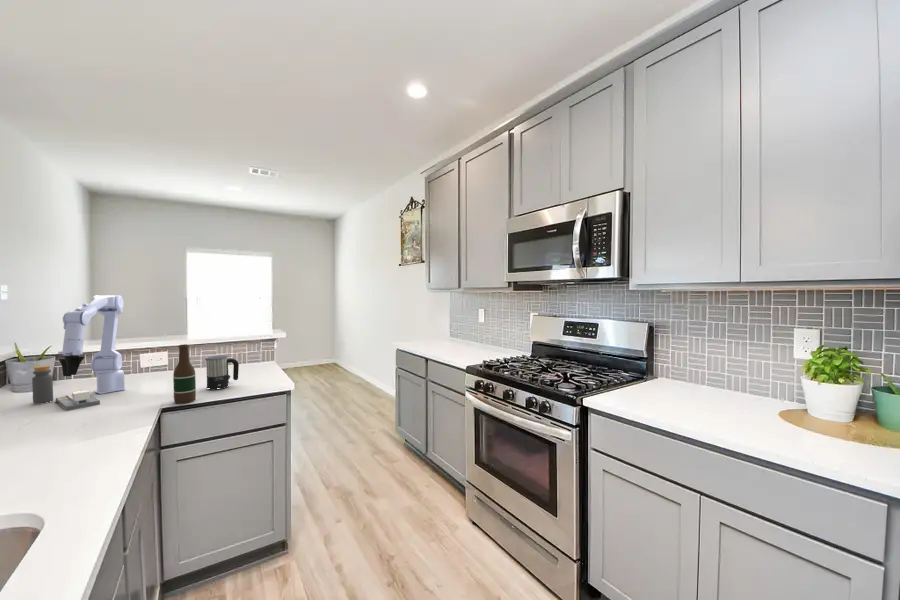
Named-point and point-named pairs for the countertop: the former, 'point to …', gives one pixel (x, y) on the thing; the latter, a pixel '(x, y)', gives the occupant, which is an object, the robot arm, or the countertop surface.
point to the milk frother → (220, 371)
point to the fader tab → (81, 395)
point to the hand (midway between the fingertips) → (69, 375)
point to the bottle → (42, 385)
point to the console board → (76, 402)
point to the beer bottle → (184, 378)
